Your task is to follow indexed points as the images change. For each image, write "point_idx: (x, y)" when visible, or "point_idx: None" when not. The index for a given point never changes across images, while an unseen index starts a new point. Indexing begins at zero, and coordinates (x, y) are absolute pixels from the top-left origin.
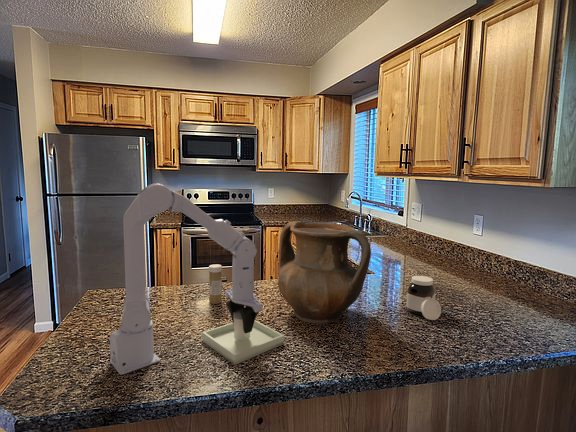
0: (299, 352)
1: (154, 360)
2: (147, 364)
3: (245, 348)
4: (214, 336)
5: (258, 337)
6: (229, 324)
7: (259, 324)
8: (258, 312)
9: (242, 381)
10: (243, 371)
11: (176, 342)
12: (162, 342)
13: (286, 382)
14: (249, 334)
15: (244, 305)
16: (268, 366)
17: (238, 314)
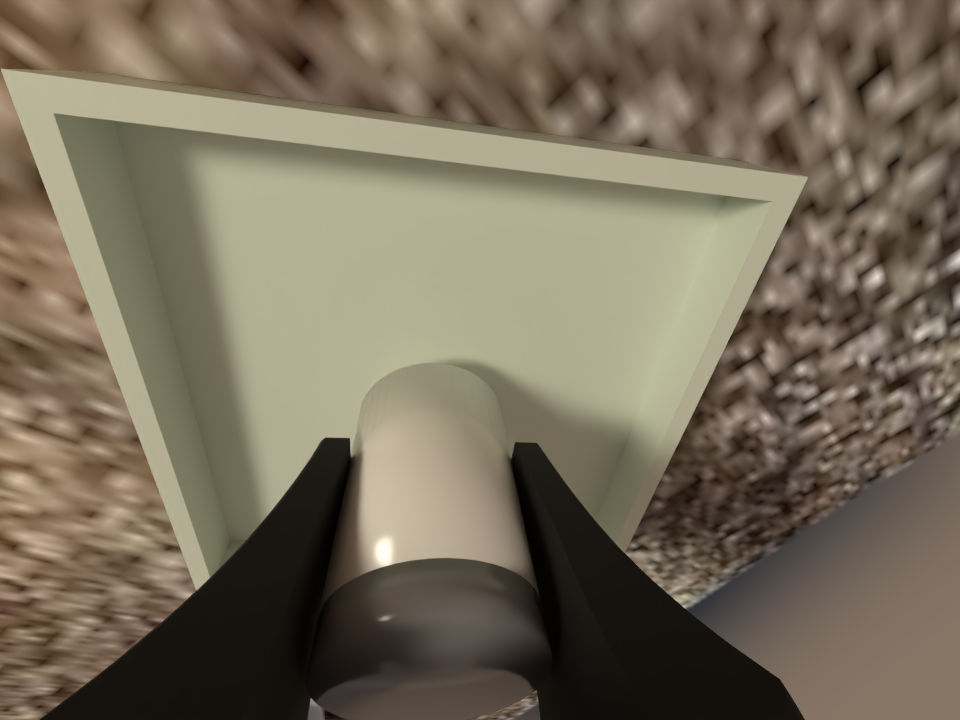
0: (923, 180)
1: (310, 700)
2: (321, 710)
3: (546, 451)
4: (236, 497)
5: (502, 286)
6: (151, 410)
7: (351, 147)
8: (721, 639)
9: (702, 560)
10: (663, 530)
11: (157, 611)
12: (117, 644)
13: (897, 462)
14: (499, 417)
15: (268, 657)
16: (759, 441)
17: (452, 709)
